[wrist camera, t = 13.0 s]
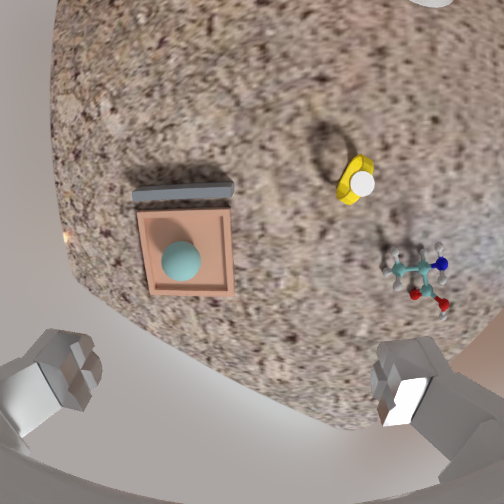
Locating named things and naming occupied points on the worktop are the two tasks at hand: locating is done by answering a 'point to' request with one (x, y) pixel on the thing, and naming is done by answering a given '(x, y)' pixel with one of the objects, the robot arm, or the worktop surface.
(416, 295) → the molecular model
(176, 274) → the ball
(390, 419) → the robot arm
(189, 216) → the dish
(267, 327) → the worktop surface
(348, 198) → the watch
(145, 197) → the block
